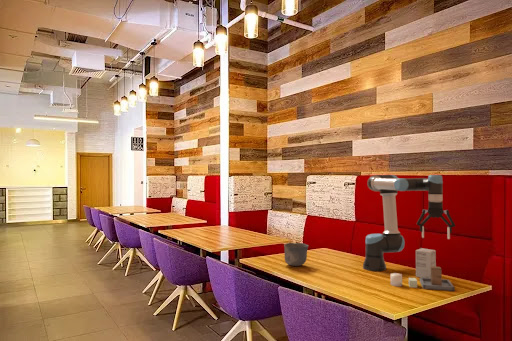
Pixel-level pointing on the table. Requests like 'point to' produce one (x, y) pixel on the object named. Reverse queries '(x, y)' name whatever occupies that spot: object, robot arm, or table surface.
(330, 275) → the table surface
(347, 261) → the table surface
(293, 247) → the bowl
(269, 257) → the table surface
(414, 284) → the cream box
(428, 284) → the tray
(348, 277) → the table surface
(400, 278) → the glossy white capsule
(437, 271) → the walnut block
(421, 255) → the supplement box
